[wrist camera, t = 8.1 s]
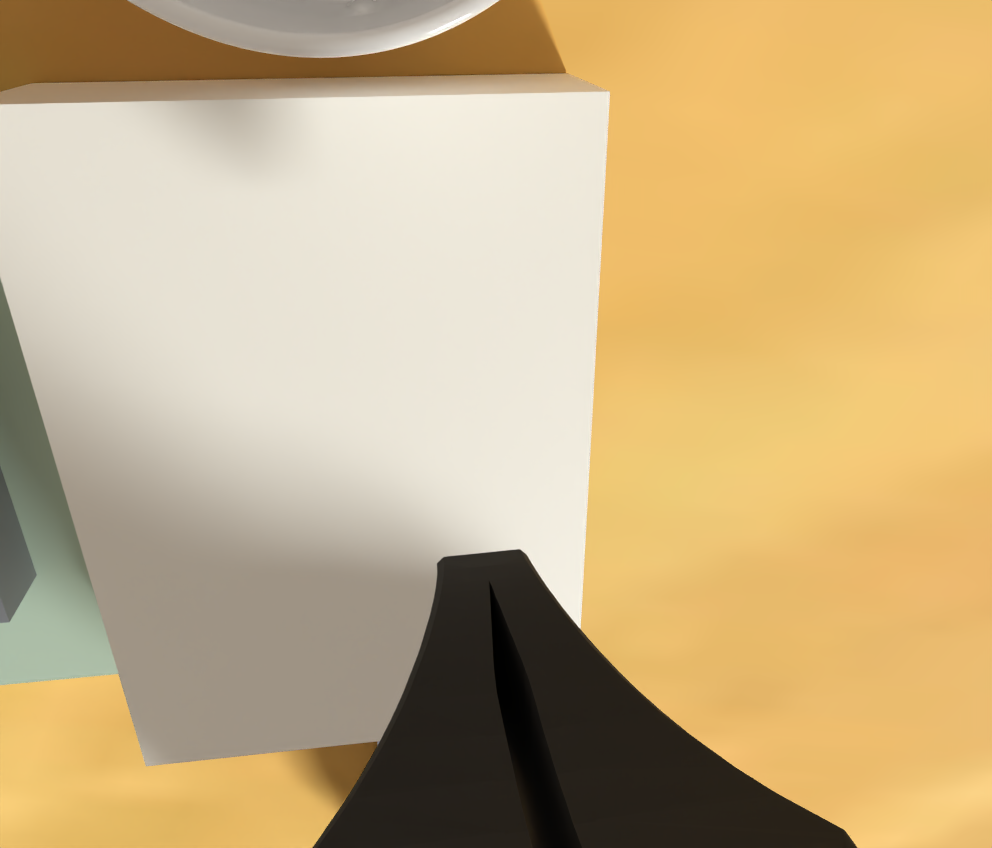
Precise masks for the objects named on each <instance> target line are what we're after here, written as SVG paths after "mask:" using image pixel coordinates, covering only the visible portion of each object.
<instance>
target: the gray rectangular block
mask: <svg viewBox="0 0 992 848" xmlns="http://www.w3.org/2000/svg"><path fill="white" fill-rule="evenodd" d="M36 576H37V574H36V571H35V568H34V565H33V562H32V559H31V556H30V553H29V550H28V547H27V544H26V541H25V538H24V535H23V532H22V529H21V526H20V523H19V520H18V517H17V514H16V511H15V508H14V505H13V502H12V499H11V496H10V493H9V490H8V487H7V485H6V482H5V479H4V476H3V473H2V470H1V467H0V623H7V622H10V621H11V619H12V617H13V616H14V614H15V612H16V610H17V609H18V607H19V605H20V603H21V602H22V600H23V598H24V597H25V595H26V593H27V591H28V590H29V588H30V586H31V584H32V583H33V581H34V579H35V578H36Z"/></svg>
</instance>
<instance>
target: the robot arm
mask: <svg viewBox="0 0 992 848" xmlns="http://www.w3.org/2000/svg"><path fill="white" fill-rule="evenodd" d="M313 848H857V847H856V845H855V844H854V842H853V841H852V840H851V838H850V837H849V836H848V834H847V833H846V831H845V830H843V829H841V828H840V827H838V826H836V825H834V824H832V823H830V822H829V821H827V820H825V819H823V818H821V817H819V816H817V815H816V814H814V813H812V812H810V811H808V810H806V809H805V808H803V807H801V806H799V805H797V804H795V803H793V802H792V801H790V800H788V799H786V798H784V797H782V796H781V795H779V794H777V793H775V792H774V791H772V790H770V789H769V788H767V787H766V786H764V785H762V784H761V783H759V782H758V781H756V780H754V779H753V778H751V777H750V776H748V775H747V774H745V773H743V772H742V771H740V770H739V769H737V768H735V767H734V766H733V765H731V764H730V763H729V762H727V761H726V760H724V759H723V758H722V757H720V756H719V755H717V754H716V753H715V752H713V751H712V750H710V749H709V748H708V747H706V746H705V745H704V744H702V743H701V742H699V741H698V740H697V739H695V738H694V737H692V736H691V735H690V734H689V733H687V732H686V731H685V730H683V729H682V728H681V727H680V726H679V725H677V724H676V723H675V722H674V721H673V720H671V719H670V718H669V717H668V716H667V715H665V714H664V713H663V712H662V711H661V710H659V709H658V708H657V707H656V706H655V705H654V704H653V703H652V702H650V701H649V700H648V699H647V698H646V697H645V696H644V695H643V694H641V693H640V692H639V691H638V690H637V689H636V688H635V687H634V686H633V685H632V684H631V683H630V682H629V681H628V680H627V679H626V678H625V677H624V676H623V675H622V674H621V673H620V672H619V671H618V670H617V669H616V668H615V667H614V666H613V665H612V664H611V663H610V662H609V661H608V660H607V659H606V658H605V657H604V655H603V654H602V653H601V652H600V651H599V650H598V649H597V648H596V647H595V646H594V644H593V643H592V642H591V641H590V640H589V639H588V638H587V637H586V635H585V634H584V633H583V632H582V631H581V629H580V628H579V627H578V626H577V624H576V623H575V622H574V621H573V620H572V618H571V617H570V616H569V615H568V614H567V612H566V611H565V610H564V609H563V607H562V606H561V605H560V603H559V602H558V601H557V599H556V598H555V597H554V595H553V594H552V593H551V591H550V590H549V588H548V587H547V586H546V584H545V583H544V581H543V580H542V578H541V577H540V575H539V574H538V572H537V571H536V569H535V568H534V566H533V564H532V563H531V561H530V560H529V558H528V556H527V554H525V553H524V552H523V551H522V550H520V549H516V550H506V551H496V552H486V553H476V554H466V555H456V556H447V557H443V558H442V559H441V560H440V561H439V562H438V563H437V581H436V589H435V594H434V599H433V604H432V608H431V613H430V617H429V620H428V623H427V627H426V630H425V633H424V637H423V640H422V643H421V647H420V650H419V653H418V655H417V658H416V661H415V663H414V666H413V668H412V671H411V674H410V676H409V679H408V681H407V684H406V686H405V689H404V692H403V694H402V696H401V698H400V701H399V703H398V705H397V707H396V710H395V712H394V714H393V716H392V718H391V720H390V722H389V724H388V726H387V728H386V730H385V732H384V734H383V736H382V738H381V740H380V741H377V748H376V749H375V751H374V753H373V755H372V756H371V758H370V760H369V762H368V764H367V765H366V767H365V769H364V771H363V772H362V774H361V776H360V778H359V779H358V781H357V783H356V784H355V786H354V787H353V789H352V791H351V792H350V794H349V795H348V797H347V799H346V800H345V802H344V803H343V804H342V806H341V807H340V809H339V810H338V812H337V813H336V815H335V816H334V818H333V819H332V820H331V822H330V823H329V825H328V826H327V828H326V829H325V831H324V832H323V834H322V835H321V836H320V838H319V839H318V841H317V842H316V844H315V845H314V846H313Z"/></svg>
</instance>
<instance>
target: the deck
mask: <svg viewBox="0 0 992 848" xmlns="http://www.w3.org/2000/svg"><path fill="white" fill-rule="evenodd" d="M609 99H610V91H607V90H605V89H603V88H601V87H598V86H596V85H594V84H591V83H589V82H587V81H584V80H582V79H580V78H577V77H575V76H573V75H570V74H568V73H554V74H500V75H447V76H393V77H339V78H285V79H231V80H177V81H123V82H69V83H31V84H27V85H23V86H20V87H16V88H12V89H8V90H5V91H1V92H0V278H1V282H2V285H3V288H4V292H5V295H6V299H7V302H8V305H9V309H10V312H11V315H12V319H13V322H14V325H15V329H16V332H17V335H18V339H19V342H20V345H21V349H22V352H23V356H24V359H25V362H26V366H27V369H28V372H29V376H30V379H31V382H32V386H33V389H34V392H35V396H36V399H37V402H38V406H39V409H40V412H41V416H42V419H43V423H44V426H45V429H46V433H47V436H48V439H49V443H50V446H51V449H52V453H53V456H54V459H55V463H56V466H57V469H58V473H59V476H60V480H61V483H62V486H63V490H64V493H65V496H66V500H67V503H68V506H69V510H70V513H71V516H72V520H73V523H74V526H75V530H76V533H77V536H78V540H79V543H80V547H81V550H82V553H83V557H84V560H85V563H86V567H87V570H88V573H89V577H90V580H91V583H92V587H93V590H94V593H95V597H96V600H97V604H98V607H99V610H100V614H101V617H102V620H103V624H104V627H105V630H106V634H107V637H108V640H109V644H110V647H111V650H112V654H113V657H114V660H115V664H116V667H117V671H118V674H119V677H120V681H121V684H122V687H123V691H124V694H125V697H126V701H127V704H128V707H129V711H130V714H131V717H132V721H133V724H134V727H135V731H136V734H137V738H138V741H139V744H140V748H141V751H142V754H143V758H144V761H145V764H146V766H153V765H162V764H171V763H181V762H190V761H199V760H209V759H218V758H227V757H237V756H246V755H255V754H265V753H274V752H283V751H293V750H302V749H311V748H320V747H330V746H339V745H348V744H358V743H367V742H376V741H380V740H381V738H382V736H383V734H384V732H385V730H386V728H387V726H388V724H389V722H390V720H391V718H392V716H393V714H394V712H395V710H396V707H397V705H398V703H399V701H400V698H401V696H402V694H403V692H404V689H405V686H406V684H407V681H408V679H409V676H410V674H411V671H412V668H413V666H414V663H415V661H416V658H417V655H418V653H419V650H420V647H421V643H422V640H423V637H424V633H425V630H426V627H427V623H428V620H429V617H430V613H431V608H432V604H433V599H434V594H435V589H436V581H437V563H438V562H439V561H440V560H441V559H442V558H443V557H447V556H456V555H466V554H476V553H486V552H496V551H506V550H516V549H520V550H522V551H523V552H524V553H525V554H527V556H528V558H529V560H530V561H531V563H532V564H533V566H534V568H535V569H536V571H537V572H538V574H539V575H540V577H541V578H542V580H543V581H544V583H545V584H546V586H547V587H548V588H549V590H550V591H551V593H552V594H553V595H554V597H555V598H556V599H557V601H558V602H559V603H560V605H561V606H562V607H563V609H564V610H565V611H566V612H567V614H568V615H569V616H570V617H571V618H572V620H573V621H574V622H575V623H576V624H577V626H578V627H579V628H580V629H581V611H582V592H583V574H584V556H585V538H586V519H587V501H588V483H589V464H590V446H591V428H592V410H593V391H594V373H595V355H596V336H597V318H598V300H599V282H600V263H601V245H602V227H603V208H604V190H605V172H606V154H607V135H608V117H609Z"/></svg>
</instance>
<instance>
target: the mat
mask: <svg viewBox="0 0 992 848" xmlns="http://www.w3.org/2000/svg"><path fill="white" fill-rule="evenodd" d="M0 467H1V470H2V473H3V476H4V479H5V482H6V485H7V487H8V490H9V493H10V496H11V499H12V502H13V505H14V508H15V511H16V514H17V517H18V520H19V523H20V526H21V529H22V532H23V535H24V538H25V541H26V544H27V547H28V550H29V553H30V556H31V559H32V562H33V565H34V568H35V571H36V574H37V576H36V578H35V579H34V581H33V583H32V584H31V586H30V588H29V590H28V591H27V593H26V595H25V597H24V598H23V600H22V602H21V603H20V605H19V607H18V609H17V610H16V612H15V614H14V616H13V617H12V619H11V621H10V622H7V623H0V685H6V684H17V683H27V682H38V681H48V680H59V679H69V678H80V677H90V676H101V675H111V674H118V671H117V667H116V664H115V660H114V657H113V654H112V650H111V647H110V644H109V640H108V637H107V634H106V630H105V627H104V624H103V620H102V617H101V614H100V610H99V607H98V604H97V600H96V597H95V593H94V590H93V587H92V583H91V580H90V577H89V573H88V570H87V567H86V563H85V560H84V557H83V553H82V550H81V547H80V543H79V540H78V536H77V533H76V530H75V526H74V523H73V520H72V516H71V513H70V510H69V506H68V503H67V500H66V496H65V493H64V490H63V486H62V483H61V480H60V476H59V473H58V469H57V466H56V463H55V459H54V456H53V453H52V449H51V446H50V443H49V439H48V436H47V433H46V429H45V426H44V423H43V419H42V416H41V412H40V409H39V406H38V402H37V399H36V396H35V392H34V389H33V386H32V382H31V379H30V376H29V372H28V369H27V366H26V362H25V359H24V356H23V352H22V349H21V345H20V342H19V339H18V335H17V332H16V329H15V325H14V322H13V319H12V315H11V312H10V309H9V305H8V302H7V299H6V295H5V292H4V288H3V285H2V282H1V278H0Z"/></svg>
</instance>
